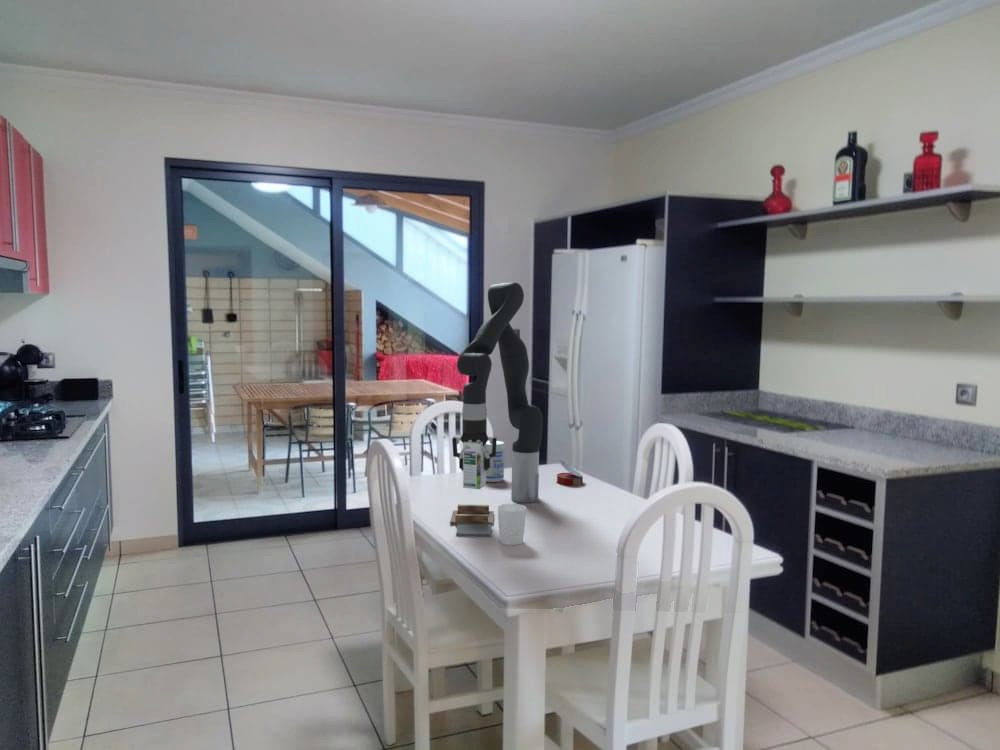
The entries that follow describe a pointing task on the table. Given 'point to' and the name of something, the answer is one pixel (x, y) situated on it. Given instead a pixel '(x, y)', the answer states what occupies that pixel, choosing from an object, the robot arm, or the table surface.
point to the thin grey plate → (474, 530)
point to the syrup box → (473, 465)
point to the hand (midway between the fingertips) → (474, 469)
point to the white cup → (511, 523)
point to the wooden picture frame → (472, 515)
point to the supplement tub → (496, 463)
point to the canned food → (569, 477)
